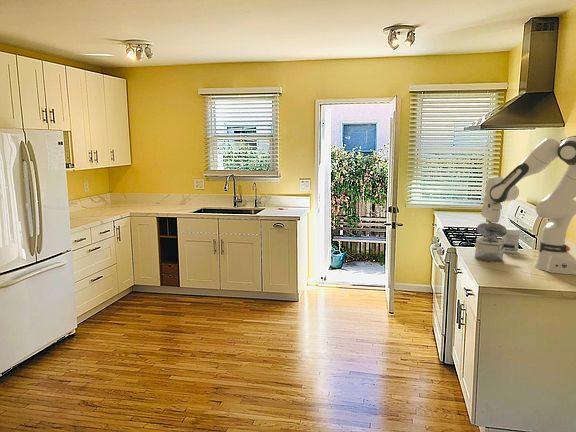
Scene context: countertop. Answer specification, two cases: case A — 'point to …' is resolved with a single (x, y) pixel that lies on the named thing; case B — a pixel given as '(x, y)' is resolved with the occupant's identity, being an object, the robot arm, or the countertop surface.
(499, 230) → the cooker lid
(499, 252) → the cooker pot
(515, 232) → the supplement tub
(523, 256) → the countertop surface
